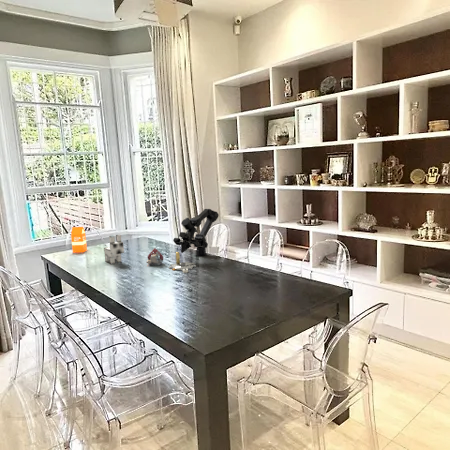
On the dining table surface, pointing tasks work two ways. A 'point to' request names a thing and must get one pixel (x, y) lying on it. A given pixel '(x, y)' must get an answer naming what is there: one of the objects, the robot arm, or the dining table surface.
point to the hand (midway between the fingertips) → (181, 252)
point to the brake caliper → (155, 258)
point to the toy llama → (114, 250)
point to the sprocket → (181, 264)
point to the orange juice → (78, 239)
